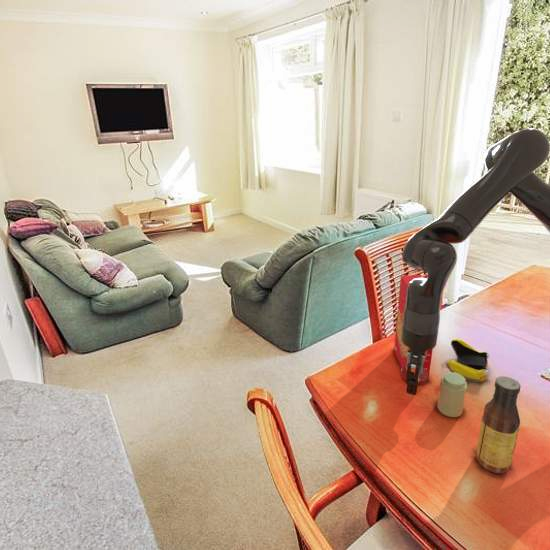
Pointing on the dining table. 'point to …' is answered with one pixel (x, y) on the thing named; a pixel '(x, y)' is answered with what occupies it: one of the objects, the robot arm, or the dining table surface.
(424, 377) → the lid
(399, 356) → the food packaging
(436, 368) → the dining table surface
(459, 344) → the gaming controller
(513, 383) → the sauce bottle
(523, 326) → the dining table surface
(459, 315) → the dining table surface
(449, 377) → the jar
